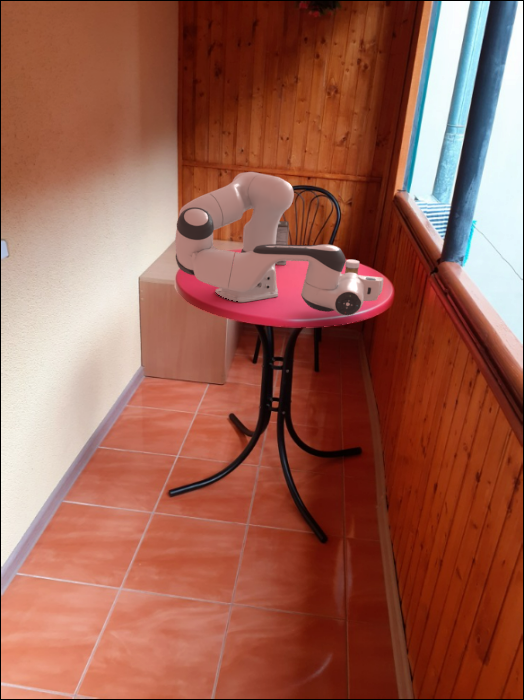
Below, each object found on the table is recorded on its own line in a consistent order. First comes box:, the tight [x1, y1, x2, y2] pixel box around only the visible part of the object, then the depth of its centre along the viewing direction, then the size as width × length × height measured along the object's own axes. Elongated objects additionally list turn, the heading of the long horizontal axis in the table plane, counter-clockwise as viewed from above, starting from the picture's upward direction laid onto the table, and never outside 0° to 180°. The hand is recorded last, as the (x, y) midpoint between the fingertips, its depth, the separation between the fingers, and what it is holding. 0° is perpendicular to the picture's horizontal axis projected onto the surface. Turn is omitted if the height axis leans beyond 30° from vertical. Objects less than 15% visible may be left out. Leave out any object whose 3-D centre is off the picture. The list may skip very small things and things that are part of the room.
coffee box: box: [275, 220, 290, 266], centre depth 231 cm, size 9×6×16 cm
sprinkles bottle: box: [344, 259, 360, 275], centre depth 191 cm, size 5×5×14 cm
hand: (351, 275), depth 184 cm, fingers closed
